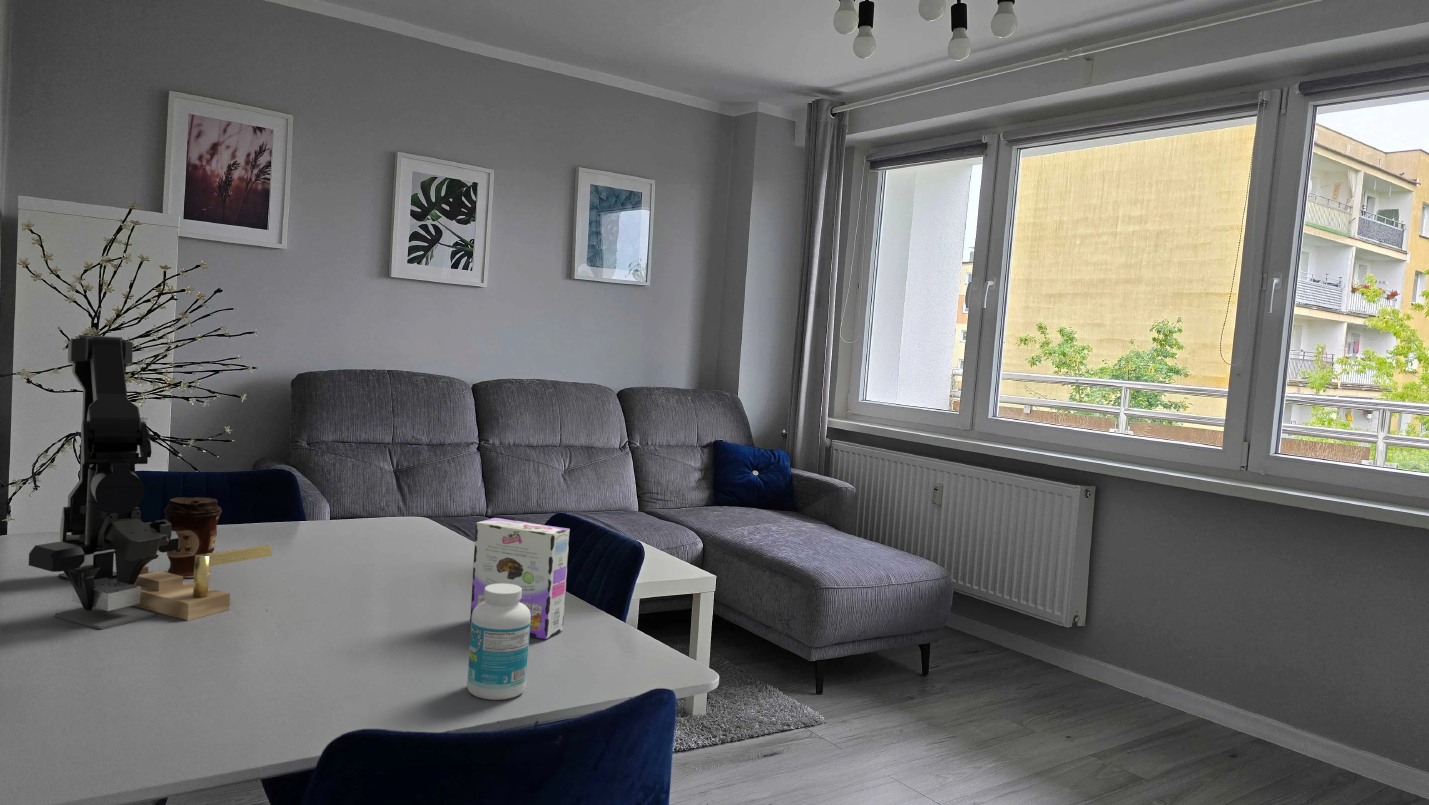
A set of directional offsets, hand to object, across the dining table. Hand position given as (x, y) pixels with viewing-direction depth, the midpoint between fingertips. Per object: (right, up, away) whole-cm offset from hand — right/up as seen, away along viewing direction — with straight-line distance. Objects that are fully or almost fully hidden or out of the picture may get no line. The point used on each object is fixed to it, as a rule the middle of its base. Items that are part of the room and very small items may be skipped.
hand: (105, 606), depth 137 cm
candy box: (+57, -6, +11) cm, 59 cm away
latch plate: (+5, -1, +8) cm, 9 cm away
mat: (0, -1, 0) cm, 2 cm away
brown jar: (-2, 0, +25) cm, 25 cm away
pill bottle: (+60, -8, -16) cm, 63 cm away
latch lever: (+13, +1, +9) cm, 17 cm away
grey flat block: (0, +1, 0) cm, 1 cm away
